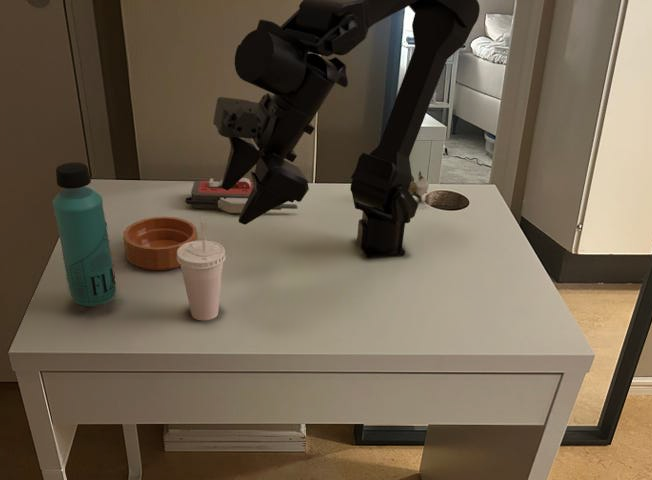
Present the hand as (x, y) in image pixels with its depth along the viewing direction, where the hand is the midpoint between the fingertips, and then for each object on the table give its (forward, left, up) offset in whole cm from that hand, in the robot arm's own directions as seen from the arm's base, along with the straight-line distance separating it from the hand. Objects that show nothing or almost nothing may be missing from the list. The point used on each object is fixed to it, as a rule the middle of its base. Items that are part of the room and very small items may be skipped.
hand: (232, 205), depth 94 cm
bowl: (+10, -13, -13) cm, 21 cm away
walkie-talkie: (-5, -30, -14) cm, 33 cm away
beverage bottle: (+20, 0, -14) cm, 24 cm away
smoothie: (+5, +5, -14) cm, 15 cm away
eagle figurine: (-34, -27, -14) cm, 45 cm away
